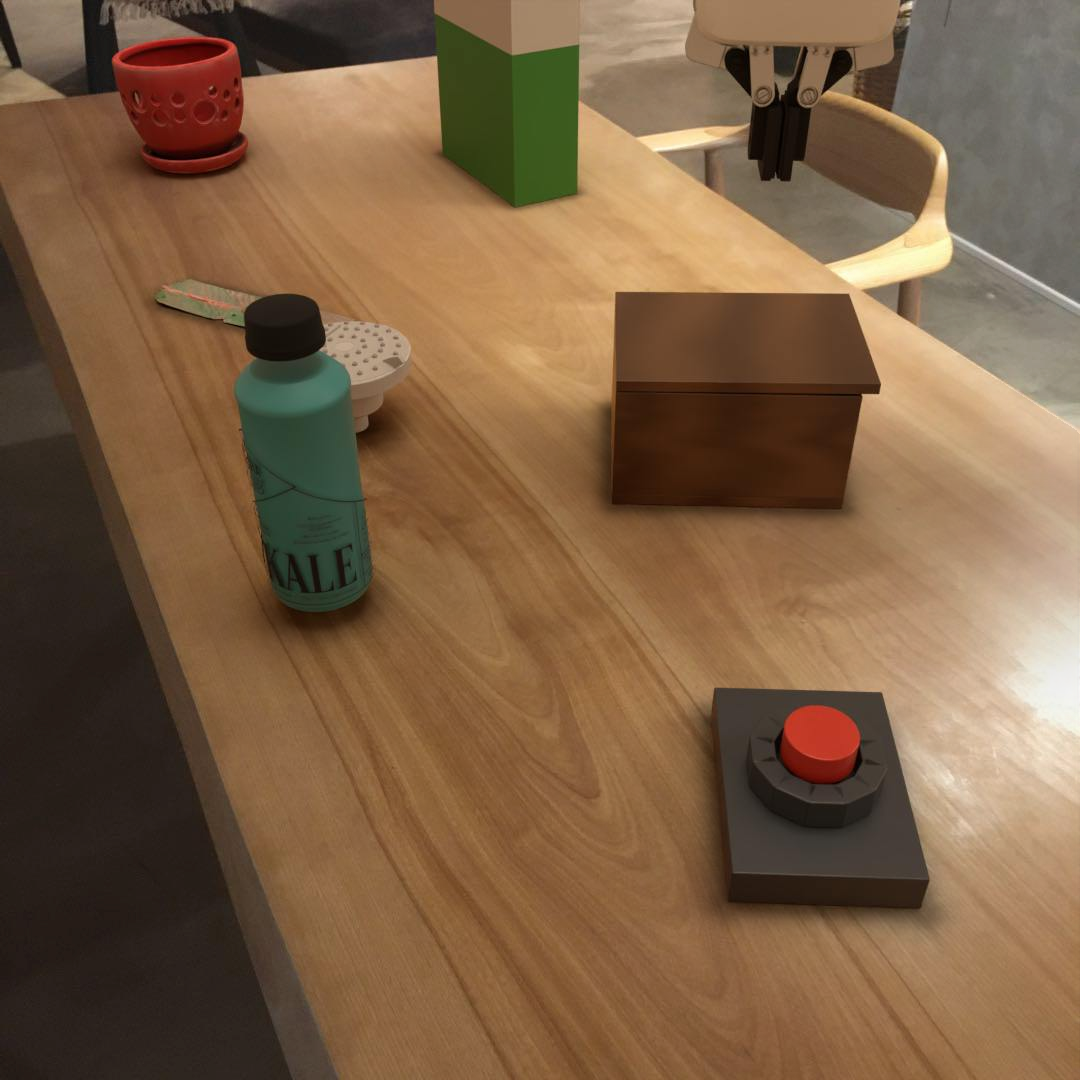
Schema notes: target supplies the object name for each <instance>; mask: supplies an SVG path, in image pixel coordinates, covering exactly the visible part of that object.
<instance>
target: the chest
mask: <svg viewBox="0 0 1080 1080" xmlns="http://www.w3.org/2000/svg"><path fill="white" fill-rule="evenodd" d="M613 319H614V321H613V323H614V325H613V350H612V351H613V352H612V378H611V379H612V380H611V405H610V409H611V413H610V415H611V416H610V417H611V419H610V420H611V421H610V422H611V427H610V428H611V433H610V434H611V435H610V436H611V441H610V442H611V451H610V452H611V504H613V505H614V504H615V505H617V504H619V505H620V504H622V505H661V506H662V505H665V506H705V507H708V506H710V507H713V506H714V507H752V508H753V507H755V508H756V507H757V508H800V509H801V508H805V509H842V508H843V506H844V505H843V504H844V498H845V495H846V488H847V483H848V477H849V473H850V467H851V462H852V456H853V451H854V446H855V440H856V435H857V430H858V425H859V419H860V414H861V410H862V409H861V408H862V404H863V398H864V397H863V394H811V393H727V392H644V391H616V339H615V318H613Z"/></svg>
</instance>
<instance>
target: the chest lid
mask: <svg viewBox="0 0 1080 1080" xmlns="http://www.w3.org/2000/svg"><path fill="white" fill-rule="evenodd" d="M614 293H615V295H614V319H615V339H616V391H644V392H727V393H811V394H862V395H880V393H881V389H882V383H881V380H880V377H879V374H878V371H877V368H876V366H875V363H874V360H873V357H872V354H871V350H870V348H869V345H868V343H867V340H866V337H865V334H864V331H863V329H862V326H861V323H860V320H859V318H858V314H857V312H856V309H855V307H854V306H855V305H854V304H853V300H852V298H851V295H850V293H827V292H826V293H825V292H824V293H822V292H821V293H818V292H817V293H816V292H815V293H814V292H811V293H810V292H802V293H801V292H710V291H709V292H706V291H705V292H703V291H702V292H700V291H698V292H697V291H696V292H695V291H693V292H692V291H691V292H690V291H689V292H688V291H687V292H686V291H615V292H614Z"/></svg>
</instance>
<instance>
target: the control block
mask: <svg viewBox="0 0 1080 1080" xmlns="http://www.w3.org/2000/svg"><path fill="white" fill-rule="evenodd" d="M812 705H819V706H826V707H830V708H833V709H836V710H838V711H840V712H842V713H844V714H845V715H847V716H848V717H849V718H850V719H851V720H852V721H853V722H854V723H855V725H856V726H857V728H858V731H859V734H860V743H859V747H858V752H857V756H856V760H855V764H854V768H853V770H852V772H851V773H850V774H849V775H848V776H847V777H846V778H844V779H843V780H841V781H838V782H836V783H831V784H816V783H811V782H808V781H805V780H803V779H801V778H799V777H797V776H795V775H794V774H793V773H792V772H790V771H789V770H788V769H787V767H786V766H785V765H784V763H783V761H782V758H781V755H780V747H781V741H782V735H783V730H784V724H785V721H786V719H787V718H788V716H789V715H790V714H791V713H792V712H794V711H795V710H797V709H799V708H802V707H805V706H812ZM710 710H711V711H710V721H711V732H712V744H713V753H714V762H715V763H714V766H715V776H716V777H715V778H716V787H717V799H718V808H719V809H718V810H719V818H720V820H719V821H720V829H721V831H720V832H721V840H722V851H723V862H724V875H725V884H726V895H727V901H728V902H739V903H740V902H741V903H742V902H743V903H768V904H769V903H771V904H795V905H796V904H797V905H825V906H827V905H828V906H851V907H852V906H853V907H854V906H855V907H881V908H883V907H885V908H906V909H907V908H910V909H911V908H912V909H913V908H914V909H921V908H922V905H923V902H924V900H925V896H926V893H927V890H928V887H929V883H930V881H931V880H930V875H929V870H928V867H927V863H926V859H925V856H924V852H923V847H922V844H921V840H920V836H919V832H918V828H917V824H916V820H915V816H914V812H913V808H912V805H911V804H912V803H911V800H910V796H909V793H908V788H907V784H906V781H905V776H904V773H903V769H902V765H901V761H900V757H899V754H898V749H897V745H896V741H895V738H894V734H893V730H892V726H891V721H890V718H889V714H888V709H887V705H886V702H885V697H884V694H883V692H882V691H855V690H854V691H853V690H821V689H820V690H819V689H817V690H816V689H785V688H784V689H783V688H781V689H780V688H749V687H748V688H746V687H714V688H713V693H712V701H711V709H710Z"/></svg>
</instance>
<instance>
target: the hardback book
mask: <svg viewBox="0 0 1080 1080" xmlns="http://www.w3.org/2000/svg"><path fill="white" fill-rule="evenodd" d="M433 9H434V11H433V12H434V27H435V45H436V47H435V48H436V59H437V60H436V62H437V79H438V83H437V84H438V97H439V98H438V99H439V114H440V115H439V117H440V133H441V150H442V155H444V156H445V157H446V158H448V159H449V160H450V161H452V162H453V164H454V163H455V164H456V165H457V166H459V167H460V168H461V169H462V170H464V171H465V172H467V173H468V174H469V175H470V176H472V177H474V178H475V179H476V180H478V182H480V183H481V184H483V185H484V186H486V187H487V188H488V189H489V190H490V191H492V192H494V193H495V194H496V195H498V196H499V197H500V198H502V199H503V200H505V201H506V202H507V203H508V204H510V205H511V206H512V207H514V208H517V207H522V206H527V205H531V204H535V203H540V202H544V201H549V200H554V199H558V198H563V197H568V196H572V195H576V194H578V170H579V168H578V167H579V165H578V162H579V97H580V93H579V91H580V35H581V33H580V32H581V31H580V28H581V25H580V24H581V23H580V22H581V0H433Z"/></svg>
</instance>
